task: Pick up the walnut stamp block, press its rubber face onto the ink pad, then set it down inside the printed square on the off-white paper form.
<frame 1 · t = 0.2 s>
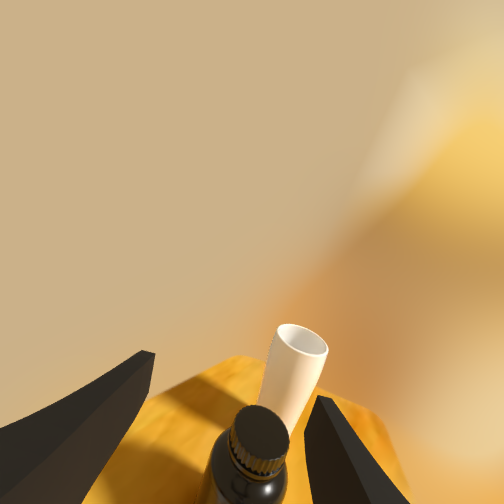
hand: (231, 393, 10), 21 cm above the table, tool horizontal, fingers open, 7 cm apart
drinking glass: (267, 435, 32), on the table
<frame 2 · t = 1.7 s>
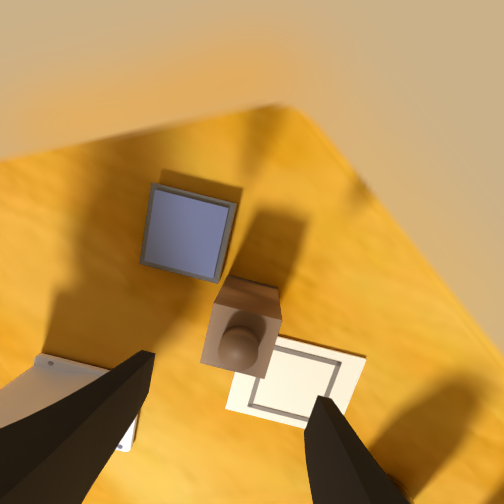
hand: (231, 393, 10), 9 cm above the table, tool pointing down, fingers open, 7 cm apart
supplement bottle: (370, 495, 23), on the table
ink pad: (190, 233, 18), on the table
form sheet: (292, 383, 20), on the table
stamp: (246, 303, 19), on the table
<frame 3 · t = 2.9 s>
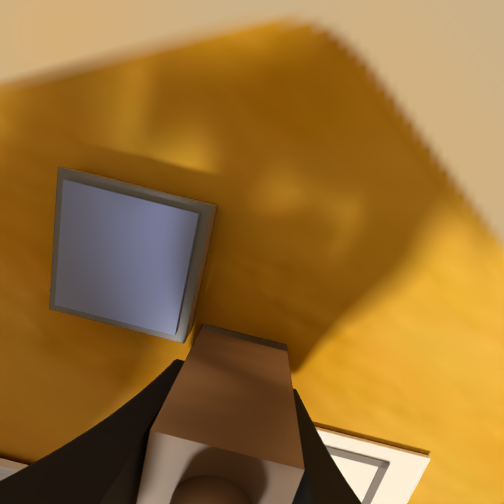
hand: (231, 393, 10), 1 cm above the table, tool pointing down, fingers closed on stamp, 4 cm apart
ink pad: (138, 255, 11), on the table
form sheet: (308, 488, 13), on the table
stamp: (235, 370, 12), on the table, touching gripper
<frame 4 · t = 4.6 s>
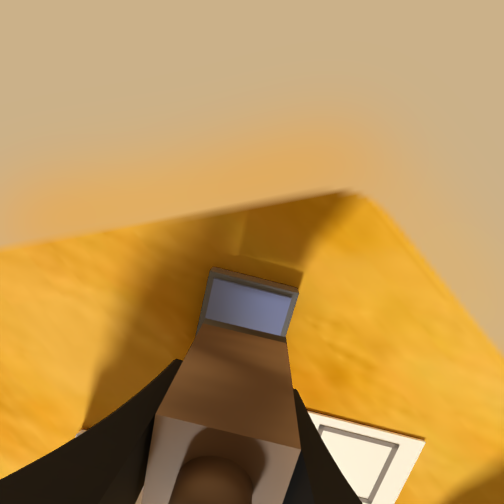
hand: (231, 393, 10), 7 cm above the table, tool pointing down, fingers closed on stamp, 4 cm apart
ink pad: (244, 315, 17), on the table
form sheet: (345, 463, 19), on the table
stamp: (237, 362, 12), point 5 cm above the table, touching gripper
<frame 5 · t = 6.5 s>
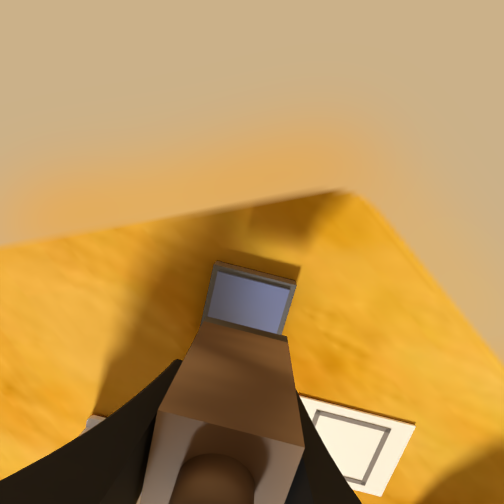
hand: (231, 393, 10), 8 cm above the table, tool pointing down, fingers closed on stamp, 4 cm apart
ink pad: (246, 306, 18), on the table
form sheet: (340, 446, 21), on the table
stamp: (237, 361, 12), point 7 cm above the table, touching gripper
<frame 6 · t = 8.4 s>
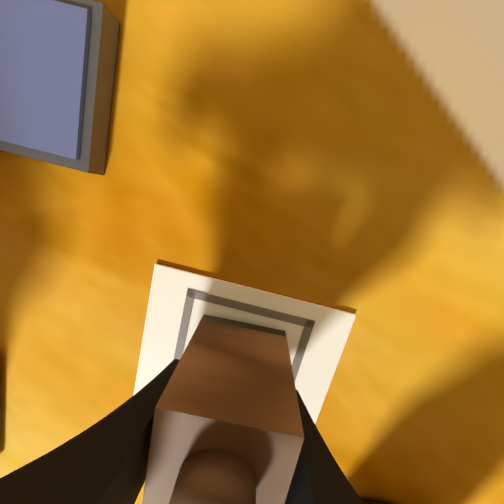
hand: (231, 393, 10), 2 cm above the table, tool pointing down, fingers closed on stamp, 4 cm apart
ink pad: (43, 86, 10), on the table
form sheet: (236, 358, 12), on the table
stamp: (236, 358, 12), point 1 cm above the table, touching gripper
when the fingers open (2 cm above the table, at t = 9.9 s): stamp stays where it is, resting on form sheet.
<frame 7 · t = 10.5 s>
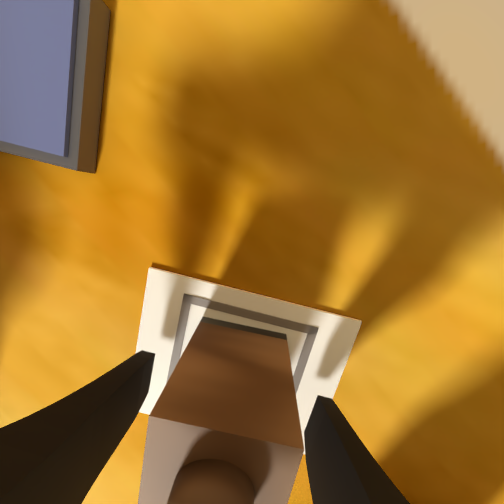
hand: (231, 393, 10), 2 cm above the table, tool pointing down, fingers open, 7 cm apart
ink pad: (30, 79, 10), on the table
form sheet: (236, 366, 12), on the table
stamp: (236, 361, 12), resting on form sheet
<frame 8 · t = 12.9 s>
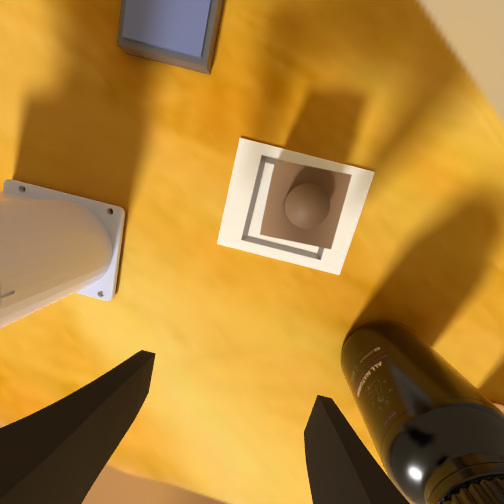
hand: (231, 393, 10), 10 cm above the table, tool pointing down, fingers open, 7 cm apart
supplement bottle: (377, 353, 20), on the table
ink pad: (175, 13, 16), on the table
form sheet: (291, 209, 18), on the table
stamp: (292, 204, 18), resting on form sheet
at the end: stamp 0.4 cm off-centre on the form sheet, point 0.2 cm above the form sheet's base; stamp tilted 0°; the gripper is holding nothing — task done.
